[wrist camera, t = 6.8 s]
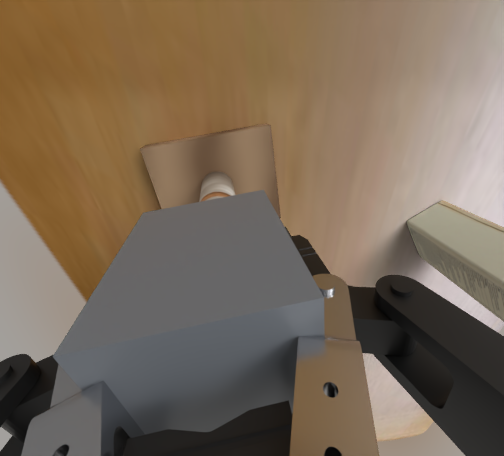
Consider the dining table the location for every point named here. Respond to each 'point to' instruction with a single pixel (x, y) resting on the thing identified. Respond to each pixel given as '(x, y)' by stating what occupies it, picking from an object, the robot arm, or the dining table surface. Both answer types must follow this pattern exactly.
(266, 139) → the wooden stand with post
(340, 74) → the dining table surface
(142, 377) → the blue-grey rectangular block
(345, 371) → the robot arm
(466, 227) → the skincare box
